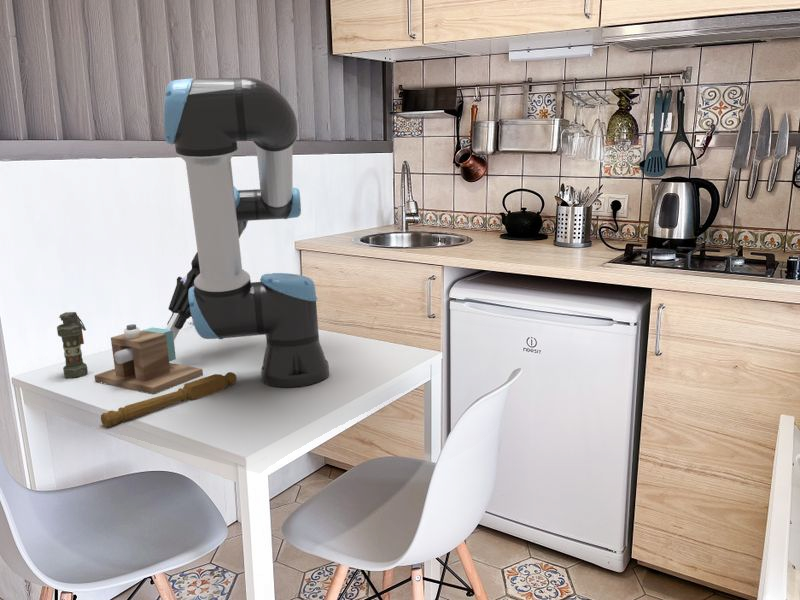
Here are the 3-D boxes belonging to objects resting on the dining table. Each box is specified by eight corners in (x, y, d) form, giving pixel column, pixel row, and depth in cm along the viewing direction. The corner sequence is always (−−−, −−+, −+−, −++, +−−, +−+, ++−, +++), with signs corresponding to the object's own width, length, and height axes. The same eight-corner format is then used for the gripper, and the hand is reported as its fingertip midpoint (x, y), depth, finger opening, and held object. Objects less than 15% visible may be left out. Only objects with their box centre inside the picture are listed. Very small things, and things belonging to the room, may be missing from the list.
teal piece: (176, 359, 157) (172, 330, 156) (130, 375, 147) (126, 344, 145) (155, 355, 161) (152, 327, 159) (110, 371, 150) (106, 340, 149)
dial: (143, 336, 151) (141, 324, 151) (131, 340, 149) (130, 327, 148) (133, 335, 153) (132, 323, 152) (121, 338, 150) (120, 326, 150)
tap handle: (99, 411, 128) (230, 369, 150) (101, 426, 129) (231, 382, 151) (106, 415, 126) (238, 371, 148) (109, 430, 127) (240, 384, 149)
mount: (203, 374, 156) (198, 331, 154) (153, 394, 145) (147, 347, 142) (145, 364, 166) (140, 323, 164) (95, 381, 155) (88, 337, 153)
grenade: (85, 377, 158) (76, 315, 155) (59, 378, 158) (49, 316, 155) (98, 369, 164) (89, 309, 161) (72, 370, 164) (63, 310, 161)
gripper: (239, 267, 169) (196, 350, 159) (202, 264, 175) (159, 343, 166) (221, 250, 163) (175, 334, 153) (184, 247, 170) (138, 328, 160)
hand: (167, 339), depth 159 cm, fingers closed
